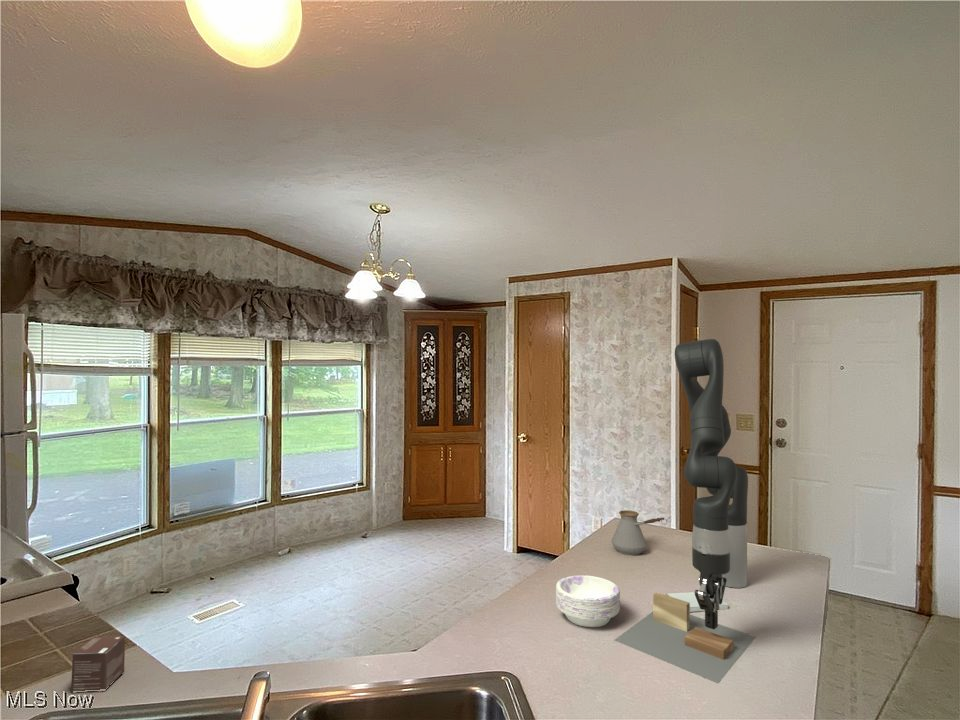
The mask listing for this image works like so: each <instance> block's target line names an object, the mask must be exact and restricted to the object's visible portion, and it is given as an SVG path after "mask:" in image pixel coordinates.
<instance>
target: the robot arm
mask: <svg viewBox="0 0 960 720" xmlns="http://www.w3.org/2000/svg"><path fill="white" fill-rule="evenodd" d="M722 350H723V349H722V347H721V344H720V343H719V341H718V340H717V339H715V338H708V339H701V340H694V341H687V342H681V343H679V344H677V345H676V346H675V349H674V359H675V365H676V368H677V372H678V374H679V378H680V380H681V384H682V386H683V389H684V393H685V396H686V399H687V403H688V405H687V406H688V409H689V414H690V416H689V418H690V419H689V424H690V427H689V428H690V448H689V451H688V455H687V458H686V462H685V465H684V470H683V473H684V475H683V476H684V479H685V480H686V482H687V483H688V484H689V486H691V487H693V488H705V489H706V490H707V492H708V494H710V495H711V496H704V497H703V496H702V497H697V498H695V500H694V501H693V505H692V506H693V509H692V515H693V519H692V520H693V521H692V522H693V526H692V532H691V534H692V535H691V537H692V538H691V547H692V548H691V549H692V550H691V557H692V559H691V561H692V562H691V563H692V566H693V568H694V569H696V570H697V571H698V572H699V573H700V574H699V577H698V586H699V589H695V590H694V592H695V597H696V599H697V602H698V604H699V607H700V609H703V610H705V611H704V619H705V626H706V627H708V628H711V629H716V628H717V627H718V624H719V620H718V619H719V615H718V614H719V604H720V605H721V604H722V600H723V598H724V595H725V590H726V587H728V588H735V589H736V588H739V589H742V588H745V587H747V586H748V527H747V526H748V521H747V520H748V491H749V490H748V489H749V477H748V476H749V475H748V472H747V470H746V468H744V467H743V466H737V464H736V463H735V462H734V461H733V459H732V458H731V457H727V456H723V455H722V456H719V454H720V452H721V451H722V450H723V449H724V447H725V446H726V444H727V443H728V442H729V439H730V437H731V434H732V429H731V424H730V418H729V414H728V411H727V410H726V409H727V408H725V406H724V405H723V394H724V372H725V371H724V370H725V369H724V365H725V364H724V355H723V351H722ZM697 377H698V378H699V377H708V382H707V384H706V386H705V388H703V386H702V385H701V384H700V383H699V381H698V379H697ZM731 499H732V503H730V501H731ZM723 601H724V600H723Z"/></svg>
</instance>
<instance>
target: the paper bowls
mask: <svg viewBox="0 0 960 720" xmlns="http://www.w3.org/2000/svg"><path fill="white" fill-rule="evenodd" d="M620 599H621V591H620V588H619V586H618V585H617V584H615V583H614V582H613V581H611V580H608V579H606V578H603V577H600V576H596V575H595V576H593V575H586V574H585V575H583V574H582V575H581V574H580V575H579V574H576V575H570V576H567V577H563V578H560V579H559V580H558V581H557V583H556V585H555V606H556V608H558V610H559V611H560V612H562V613H563V614H564V615H565V617H566V619H568V621H570V623H573V624H574V625H577V626H581V627H584V628H585V627H586V628H600V627H603V626H606V625H607V624H608V623H609V622H610V620H611V618H614V617H615V616H617V615H618V614H619V613H620V611H621V606H620V605H621V602H620V601H621V600H620Z"/></svg>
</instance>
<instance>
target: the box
mask: <svg viewBox="0 0 960 720" xmlns="http://www.w3.org/2000/svg"><path fill="white" fill-rule="evenodd" d="M125 647H126V636H125V635H120V636H119V635H118V636H117V635H116V636H94V637H92V638H91V639H90V640H89V641H87V642H86V643H85V644H83V645H82V646H80V647H79V648H78V649H77V650H75V652H73V653H72V663H71V683H70V684H71V686H70V688H71V689H70V693H71V692H73V691H85V690H100V689H106V688H107V687H108V686H109V685H110V684H111V683H112V682H113V681H115V680H116V679H117V678H118V677H119V676H120V675H121V674H122V673H123V672H124V673H125V659H126V658H125V652H126V648H125ZM124 673H123V674H124ZM123 674H122V675H123ZM122 675H121V676H122ZM121 676H120V677H121ZM120 677H119V678H120ZM119 678H118V679H119ZM118 679H117V680H118ZM117 680H116V681H117ZM116 681H115V682H116Z"/></svg>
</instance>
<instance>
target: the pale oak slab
mask: <svg viewBox="0 0 960 720" xmlns="http://www.w3.org/2000/svg"><path fill="white" fill-rule="evenodd" d="M652 595H653V596H652V597H653V599H652V600H653V601H652V603H653V605H652V609H653V610H652V612H653V620H656V621H659V622H661V623H664V624H667V625H670V626H672V627H675V628H678V629H681V630H683V631H686V632H687V631H688V630H689V629H690V615H691V612H690V603H689V602H686V601H683V600H680V599H677V598H674V597H670V596H667V595H666V594H664V593H661V592H658V591H656V592H655V593H653V594H652Z"/></svg>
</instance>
